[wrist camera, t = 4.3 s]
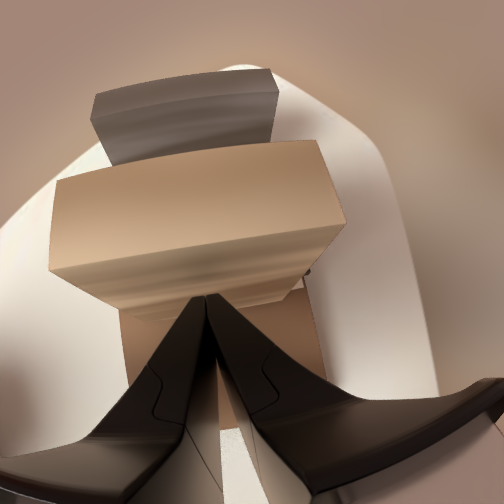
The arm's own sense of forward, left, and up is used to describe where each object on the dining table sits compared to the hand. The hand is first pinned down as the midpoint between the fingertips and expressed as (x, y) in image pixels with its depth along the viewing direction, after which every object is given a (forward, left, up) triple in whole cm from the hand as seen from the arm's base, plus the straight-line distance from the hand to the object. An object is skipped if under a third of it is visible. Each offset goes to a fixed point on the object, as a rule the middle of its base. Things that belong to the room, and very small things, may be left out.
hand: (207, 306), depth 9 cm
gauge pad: (0, -2, -6) cm, 6 cm away
